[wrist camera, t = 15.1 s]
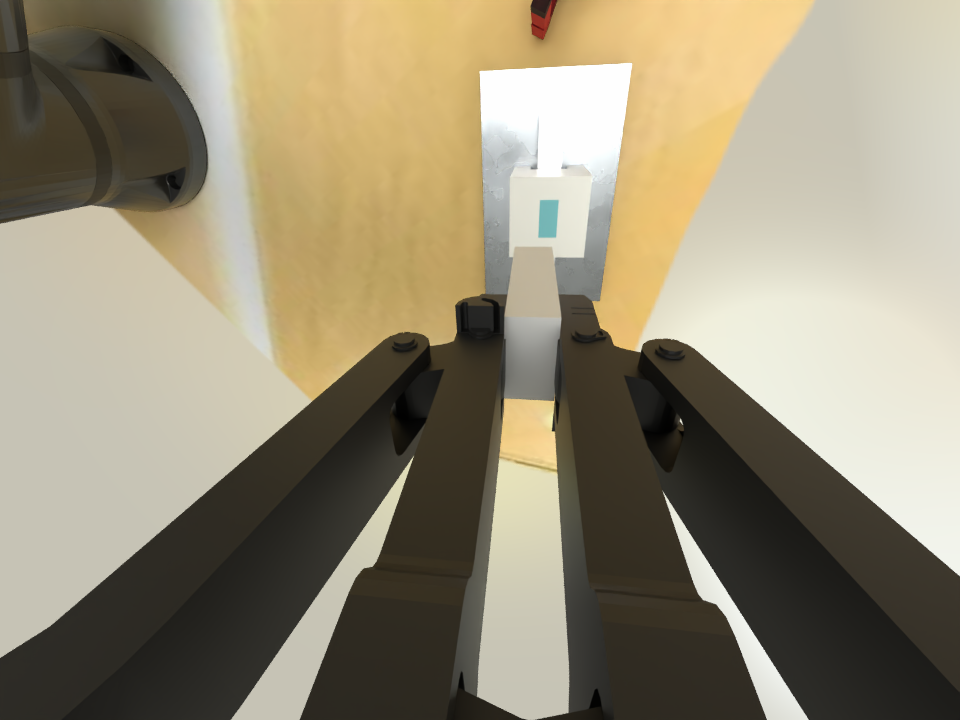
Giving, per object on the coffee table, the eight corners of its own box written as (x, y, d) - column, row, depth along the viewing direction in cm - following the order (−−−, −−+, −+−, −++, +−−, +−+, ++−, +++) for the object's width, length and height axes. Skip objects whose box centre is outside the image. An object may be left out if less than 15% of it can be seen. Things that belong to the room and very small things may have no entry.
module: (514, 234, 39) (509, 257, 32) (515, 166, 36) (509, 177, 29) (576, 234, 38) (583, 257, 32) (582, 165, 35) (592, 175, 28)
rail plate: (486, 295, 44) (483, 306, 41) (481, 72, 33) (476, 68, 31) (598, 297, 42) (602, 308, 40) (629, 64, 32) (637, 60, 29)
